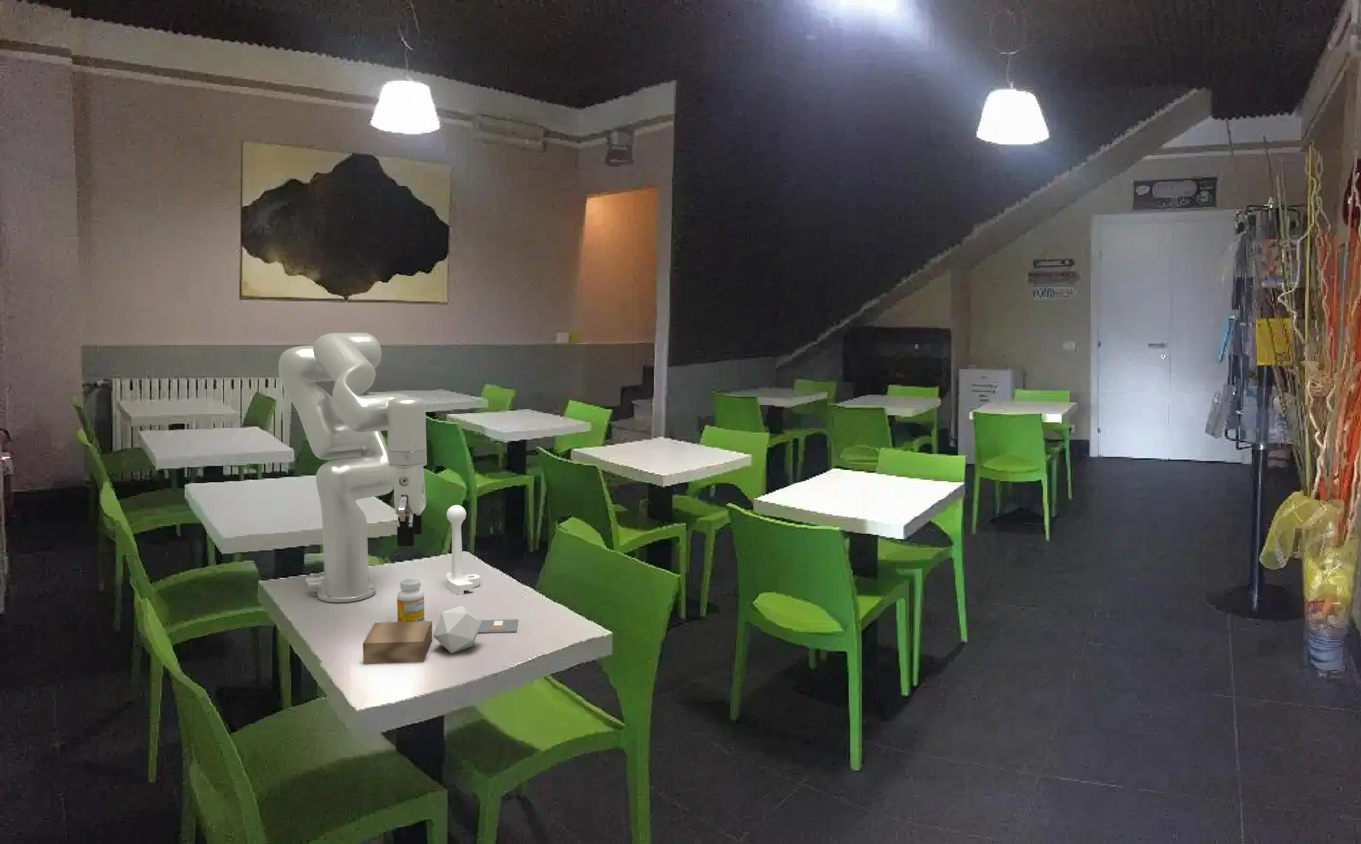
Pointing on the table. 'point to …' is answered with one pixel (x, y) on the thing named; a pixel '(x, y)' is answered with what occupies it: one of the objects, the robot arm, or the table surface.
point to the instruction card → (498, 626)
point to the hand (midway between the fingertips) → (410, 539)
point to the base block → (397, 642)
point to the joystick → (458, 555)
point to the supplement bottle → (410, 601)
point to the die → (457, 629)
